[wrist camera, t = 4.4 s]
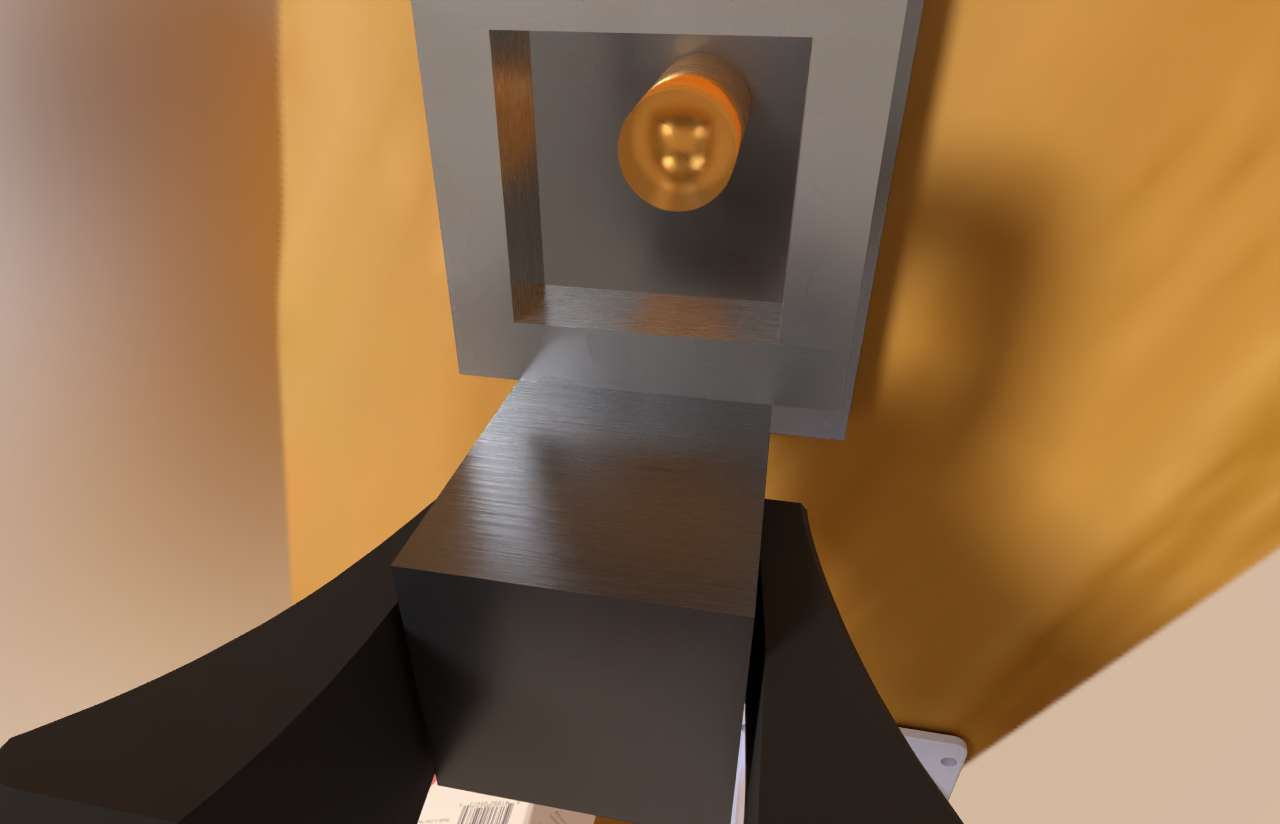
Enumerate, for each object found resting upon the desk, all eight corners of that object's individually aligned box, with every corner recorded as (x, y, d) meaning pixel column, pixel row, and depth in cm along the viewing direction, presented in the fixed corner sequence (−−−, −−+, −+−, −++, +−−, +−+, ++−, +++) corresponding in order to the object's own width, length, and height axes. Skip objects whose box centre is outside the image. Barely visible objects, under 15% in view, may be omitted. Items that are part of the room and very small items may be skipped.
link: (808, 547, 15) (807, 855, 10) (512, 509, 16) (370, 772, 11) (902, -60, 10) (1007, -81, 5) (454, -61, 11) (127, -82, 5)
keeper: (843, 418, 20) (848, 534, 17) (553, 390, 22) (500, 490, 18) (929, -69, 14) (969, -56, 10) (516, -70, 15) (422, -58, 12)
